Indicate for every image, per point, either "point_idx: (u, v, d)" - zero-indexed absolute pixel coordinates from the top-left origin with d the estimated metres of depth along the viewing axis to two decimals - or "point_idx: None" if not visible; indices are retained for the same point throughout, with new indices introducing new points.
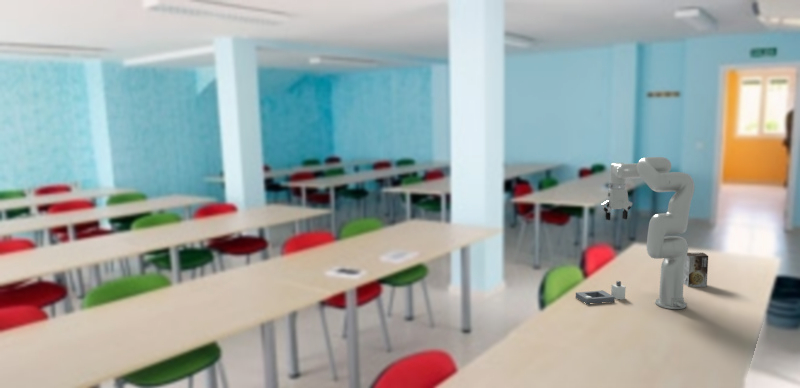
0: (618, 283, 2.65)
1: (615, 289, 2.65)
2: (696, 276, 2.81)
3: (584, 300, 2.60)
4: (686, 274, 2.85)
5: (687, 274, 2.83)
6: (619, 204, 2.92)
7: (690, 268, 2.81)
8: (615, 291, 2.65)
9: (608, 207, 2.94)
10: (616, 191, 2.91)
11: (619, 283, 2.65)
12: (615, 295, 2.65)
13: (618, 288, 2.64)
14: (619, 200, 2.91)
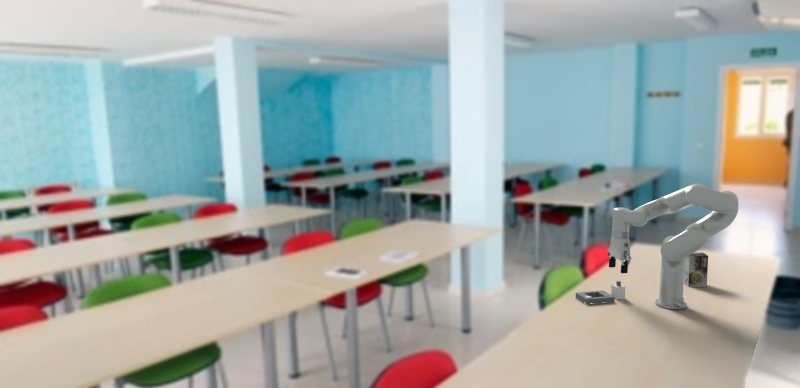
0: (618, 283, 2.65)
1: (615, 289, 2.65)
2: (696, 276, 2.81)
3: (584, 300, 2.60)
4: (686, 274, 2.85)
5: (687, 274, 2.83)
6: None
7: (690, 268, 2.81)
8: (615, 291, 2.65)
9: (624, 259, 2.60)
10: None
11: (619, 283, 2.65)
12: (615, 295, 2.65)
13: (618, 288, 2.64)
14: None
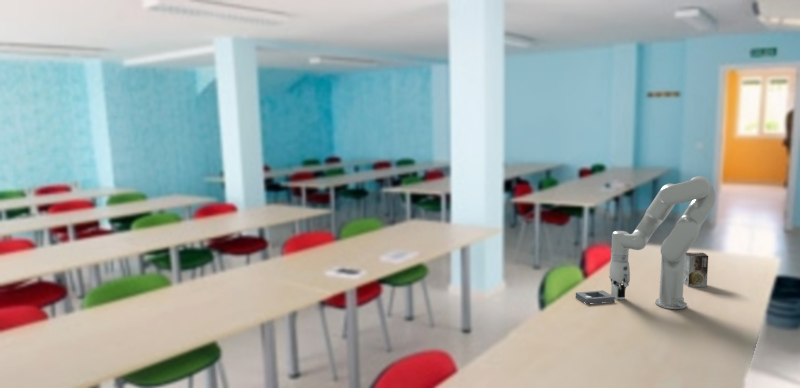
0: (618, 283, 2.65)
1: (615, 289, 2.65)
2: (696, 276, 2.81)
3: (584, 300, 2.60)
4: (686, 274, 2.85)
5: (687, 274, 2.83)
6: None
7: (690, 268, 2.81)
8: (615, 291, 2.65)
9: (622, 283, 2.63)
10: None
11: None
12: (615, 295, 2.65)
13: (618, 288, 2.64)
14: None
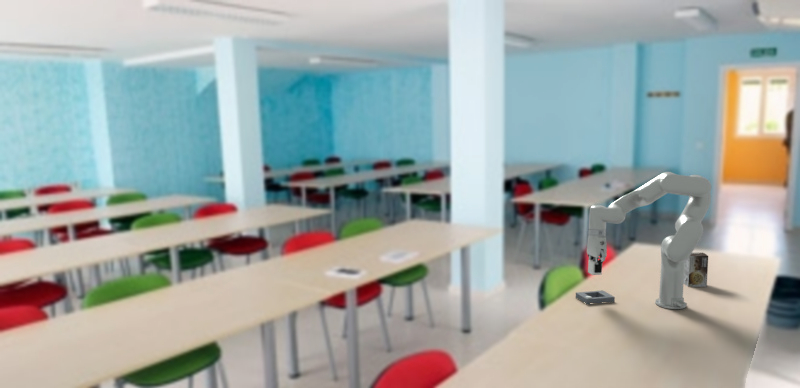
0: (595, 258, 2.61)
1: (592, 264, 2.61)
2: (696, 276, 2.81)
3: (584, 300, 2.60)
4: (686, 274, 2.85)
5: (687, 274, 2.83)
6: None
7: (690, 268, 2.81)
8: (592, 266, 2.61)
9: (598, 258, 2.59)
10: None
11: None
12: (592, 270, 2.61)
13: (595, 263, 2.60)
14: None
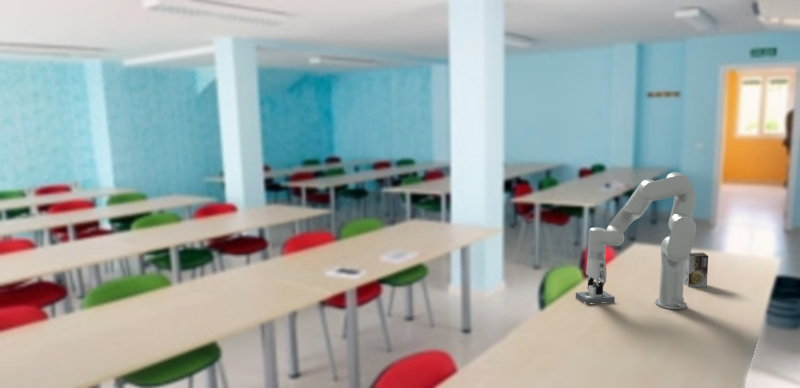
0: (595, 284, 2.63)
1: (592, 290, 2.62)
2: (696, 276, 2.81)
3: (584, 300, 2.60)
4: (686, 274, 2.85)
5: (687, 274, 2.83)
6: None
7: (690, 268, 2.81)
8: (592, 292, 2.63)
9: (599, 280, 2.60)
10: None
11: (596, 284, 2.63)
12: (592, 296, 2.63)
13: (595, 289, 2.62)
14: None
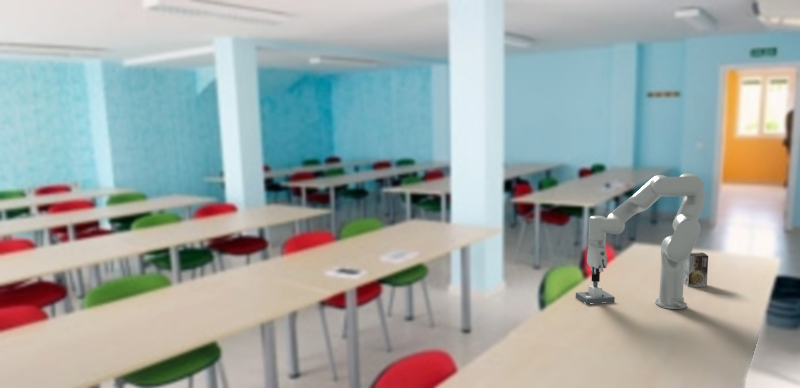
0: (595, 284, 2.63)
1: (592, 290, 2.62)
2: (696, 276, 2.81)
3: (584, 300, 2.60)
4: (686, 274, 2.85)
5: (687, 274, 2.83)
6: None
7: (690, 268, 2.81)
8: (592, 292, 2.63)
9: (597, 269, 2.61)
10: None
11: (596, 284, 2.63)
12: (592, 296, 2.63)
13: (595, 289, 2.62)
14: None
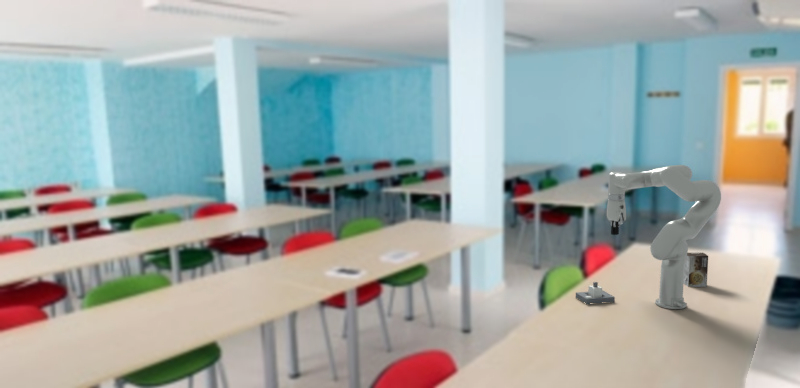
0: (595, 284, 2.63)
1: (592, 290, 2.62)
2: (696, 276, 2.81)
3: (584, 300, 2.60)
4: (686, 274, 2.85)
5: (687, 274, 2.83)
6: None
7: (690, 268, 2.81)
8: (592, 292, 2.63)
9: None
10: None
11: (596, 284, 2.63)
12: (592, 296, 2.63)
13: (595, 289, 2.62)
14: None
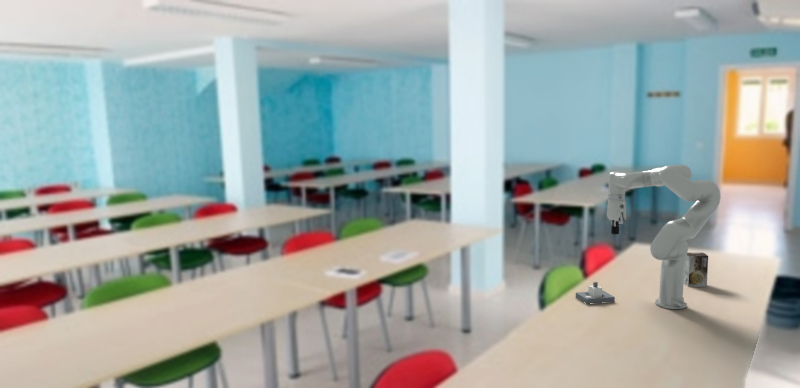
0: (595, 284, 2.63)
1: (592, 290, 2.62)
2: (696, 276, 2.81)
3: (584, 300, 2.60)
4: (686, 274, 2.85)
5: (687, 274, 2.83)
6: None
7: (690, 268, 2.81)
8: (592, 292, 2.63)
9: (617, 221, 2.77)
10: None
11: (596, 284, 2.63)
12: (592, 296, 2.63)
13: (595, 289, 2.62)
14: None
